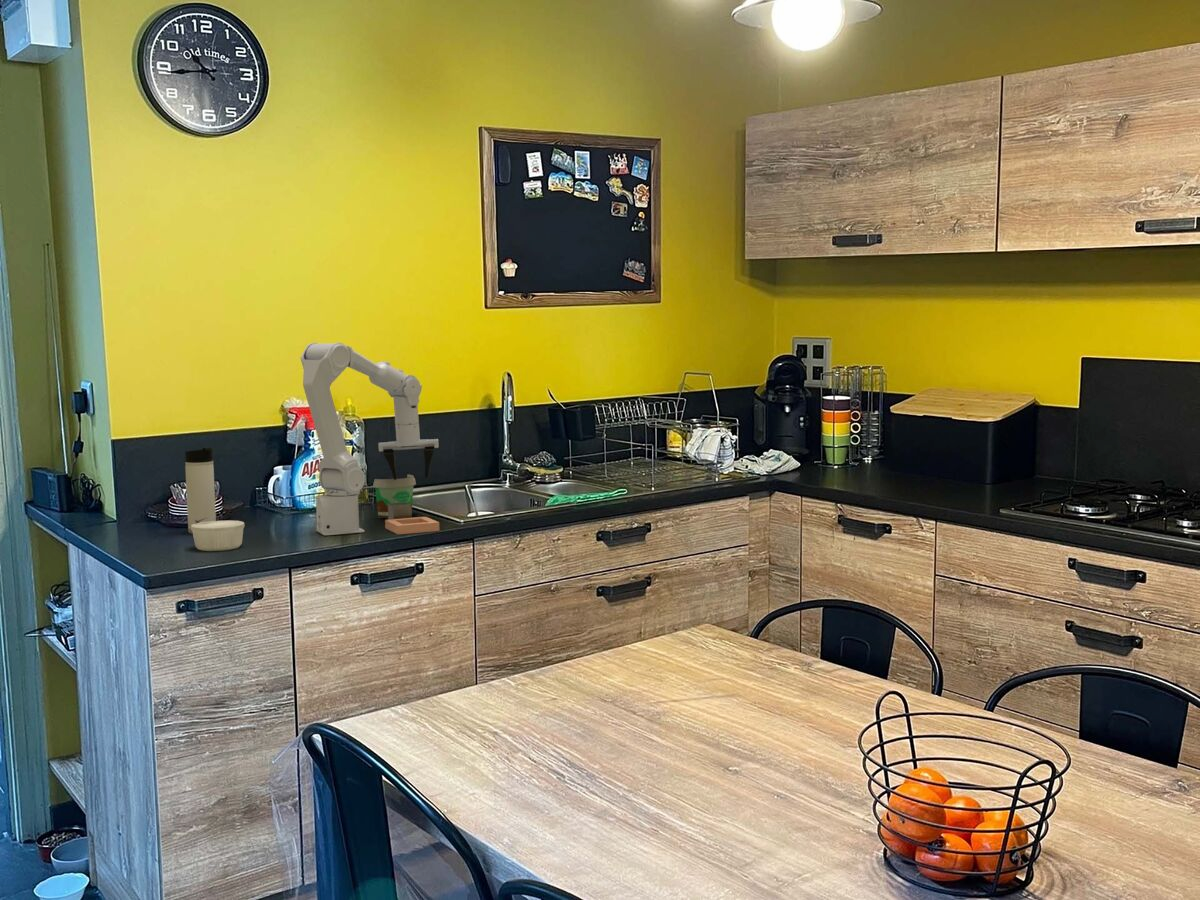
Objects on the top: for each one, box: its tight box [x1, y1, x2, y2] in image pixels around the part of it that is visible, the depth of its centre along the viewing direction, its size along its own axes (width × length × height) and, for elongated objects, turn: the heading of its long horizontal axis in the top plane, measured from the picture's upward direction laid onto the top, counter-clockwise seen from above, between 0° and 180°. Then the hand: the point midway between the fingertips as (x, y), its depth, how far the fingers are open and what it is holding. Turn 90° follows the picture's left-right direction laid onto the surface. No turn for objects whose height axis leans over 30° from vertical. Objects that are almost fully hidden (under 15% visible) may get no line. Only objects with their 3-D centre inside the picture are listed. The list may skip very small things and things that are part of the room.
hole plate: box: [384, 516, 440, 535], centre depth 279 cm, size 10×10×2 cm
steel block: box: [387, 502, 413, 520], centre depth 287 cm, size 4×4×5 cm
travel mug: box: [184, 447, 217, 535], centre depth 278 cm, size 6×7×20 cm
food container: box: [372, 474, 417, 517], centre depth 299 cm, size 12×6×10 cm, turn 143°
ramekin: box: [191, 520, 245, 552], centre depth 258 cm, size 11×11×5 cm
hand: (411, 478), depth 293 cm, fingers open, 7 cm apart
